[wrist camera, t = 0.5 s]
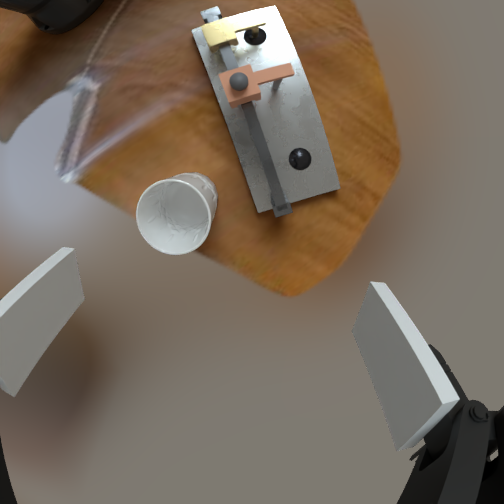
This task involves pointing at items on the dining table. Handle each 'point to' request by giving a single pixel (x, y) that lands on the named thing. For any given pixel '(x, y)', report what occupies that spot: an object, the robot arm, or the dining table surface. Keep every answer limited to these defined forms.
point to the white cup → (177, 213)
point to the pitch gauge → (269, 110)
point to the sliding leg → (251, 82)
